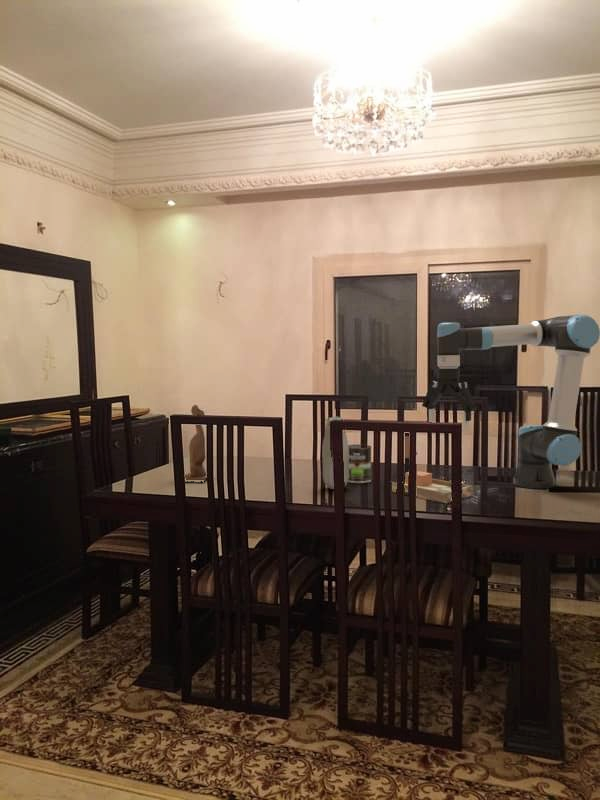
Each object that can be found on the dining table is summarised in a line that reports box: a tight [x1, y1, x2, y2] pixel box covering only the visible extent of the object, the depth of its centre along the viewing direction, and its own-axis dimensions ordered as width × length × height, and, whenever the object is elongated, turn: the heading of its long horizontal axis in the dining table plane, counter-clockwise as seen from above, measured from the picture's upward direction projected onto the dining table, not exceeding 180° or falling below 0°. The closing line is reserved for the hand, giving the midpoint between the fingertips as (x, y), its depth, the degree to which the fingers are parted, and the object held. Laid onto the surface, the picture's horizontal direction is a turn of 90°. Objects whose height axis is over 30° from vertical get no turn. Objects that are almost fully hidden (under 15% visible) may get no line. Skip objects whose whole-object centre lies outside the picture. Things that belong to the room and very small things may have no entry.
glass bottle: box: [321, 416, 349, 490], centre depth 241 cm, size 10×10×28 cm
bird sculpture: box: [184, 404, 207, 481], centre depth 261 cm, size 11×12×32 cm
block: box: [404, 470, 433, 486], centre depth 239 cm, size 6×8×4 cm
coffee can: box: [348, 444, 372, 484], centre depth 255 cm, size 10×10×14 cm
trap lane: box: [391, 478, 474, 504], centre depth 232 cm, size 16×26×4 cm, turn 41°
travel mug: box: [405, 433, 418, 473], centre depth 260 cm, size 8×8×20 cm
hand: (448, 428), depth 218 cm, fingers open, 13 cm apart
